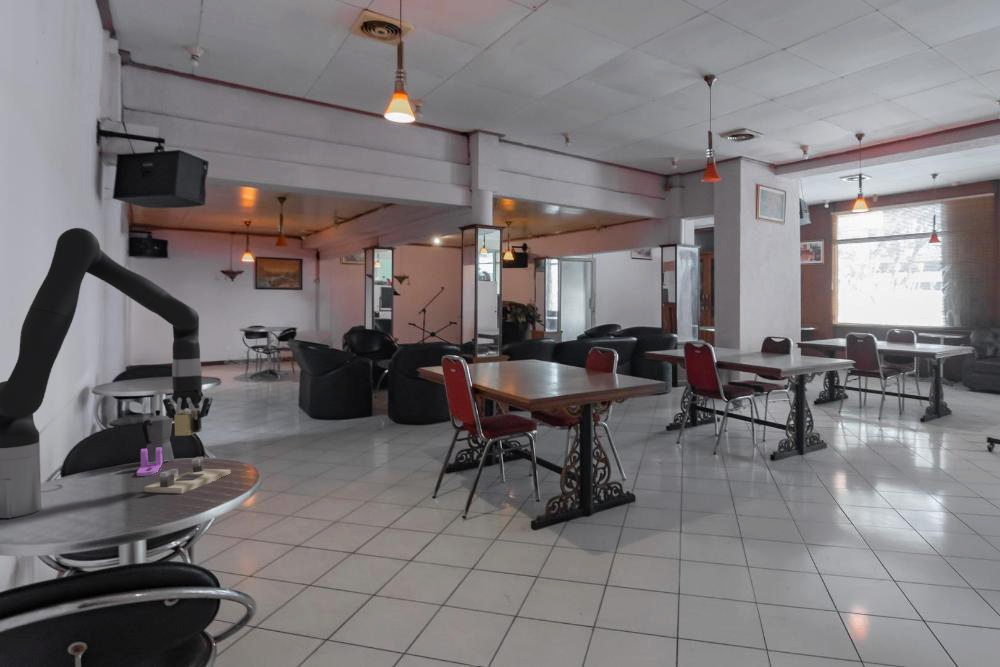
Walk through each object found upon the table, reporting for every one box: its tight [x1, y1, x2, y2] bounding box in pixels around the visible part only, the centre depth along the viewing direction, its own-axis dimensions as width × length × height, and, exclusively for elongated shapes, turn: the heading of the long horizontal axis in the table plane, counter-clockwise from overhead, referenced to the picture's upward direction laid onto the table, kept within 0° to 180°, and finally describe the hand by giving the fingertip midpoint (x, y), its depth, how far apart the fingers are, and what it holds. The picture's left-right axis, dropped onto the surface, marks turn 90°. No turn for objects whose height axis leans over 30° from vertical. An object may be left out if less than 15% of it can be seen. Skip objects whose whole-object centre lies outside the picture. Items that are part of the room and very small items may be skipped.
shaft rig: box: [144, 456, 232, 494], centre depth 162 cm, size 20×12×6 cm, turn 169°
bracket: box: [136, 447, 164, 477], centre depth 177 cm, size 13×6×7 cm, turn 24°
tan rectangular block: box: [174, 410, 203, 437], centre depth 162 cm, size 7×4×6 cm, turn 1°
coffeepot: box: [141, 409, 175, 462], centre depth 190 cm, size 15×9×18 cm, turn 4°
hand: (188, 431), depth 162 cm, fingers closed on tan rectangular block, 4 cm apart
